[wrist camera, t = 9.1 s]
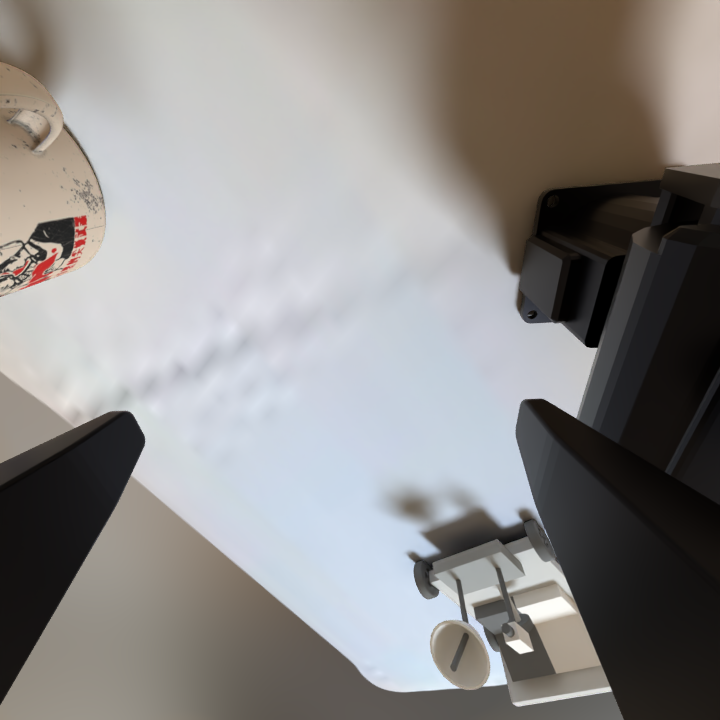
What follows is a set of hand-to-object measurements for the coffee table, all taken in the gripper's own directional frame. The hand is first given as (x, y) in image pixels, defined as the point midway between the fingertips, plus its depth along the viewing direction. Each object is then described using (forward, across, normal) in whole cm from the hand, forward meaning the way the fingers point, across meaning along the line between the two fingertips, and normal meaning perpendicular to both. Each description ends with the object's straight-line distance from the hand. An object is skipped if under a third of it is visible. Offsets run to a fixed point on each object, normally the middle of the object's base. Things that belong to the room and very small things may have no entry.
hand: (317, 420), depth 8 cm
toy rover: (+13, -11, +29) cm, 34 cm away
